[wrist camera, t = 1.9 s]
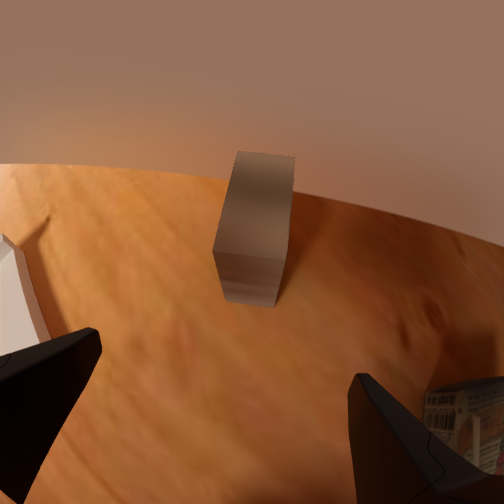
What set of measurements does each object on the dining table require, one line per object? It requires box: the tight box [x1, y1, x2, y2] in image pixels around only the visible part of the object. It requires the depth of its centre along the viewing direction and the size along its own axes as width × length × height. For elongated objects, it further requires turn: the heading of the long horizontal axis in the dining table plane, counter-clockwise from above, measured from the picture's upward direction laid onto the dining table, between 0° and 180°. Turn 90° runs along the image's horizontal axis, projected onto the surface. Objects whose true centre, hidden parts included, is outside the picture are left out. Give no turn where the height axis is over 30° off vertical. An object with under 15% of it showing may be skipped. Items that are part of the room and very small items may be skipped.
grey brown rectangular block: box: [213, 151, 295, 308], centre depth 21 cm, size 8×4×9 cm, turn 172°
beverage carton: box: [423, 376, 504, 475], centre depth 12 cm, size 8×19×7 cm, turn 174°
